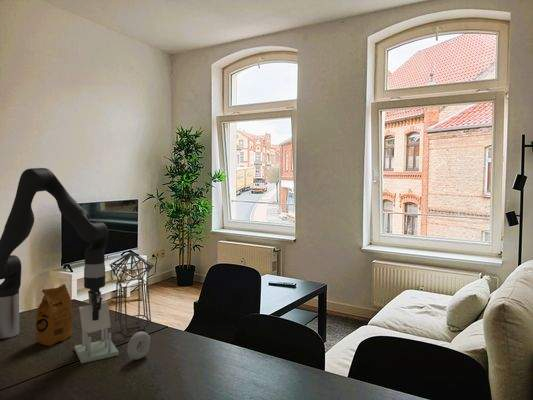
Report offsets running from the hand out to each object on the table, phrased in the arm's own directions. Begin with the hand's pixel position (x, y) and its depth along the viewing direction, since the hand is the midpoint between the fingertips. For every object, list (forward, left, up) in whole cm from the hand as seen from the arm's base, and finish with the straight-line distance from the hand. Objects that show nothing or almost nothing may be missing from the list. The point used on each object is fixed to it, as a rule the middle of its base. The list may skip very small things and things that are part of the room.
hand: (94, 318), depth 156 cm
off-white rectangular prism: (0, +1, -4) cm, 4 cm away
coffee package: (-19, -12, -12) cm, 26 cm away
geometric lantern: (-11, +17, -12) cm, 24 cm away
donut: (+17, +12, -12) cm, 24 cm away
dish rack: (+3, 0, -12) cm, 12 cm away
